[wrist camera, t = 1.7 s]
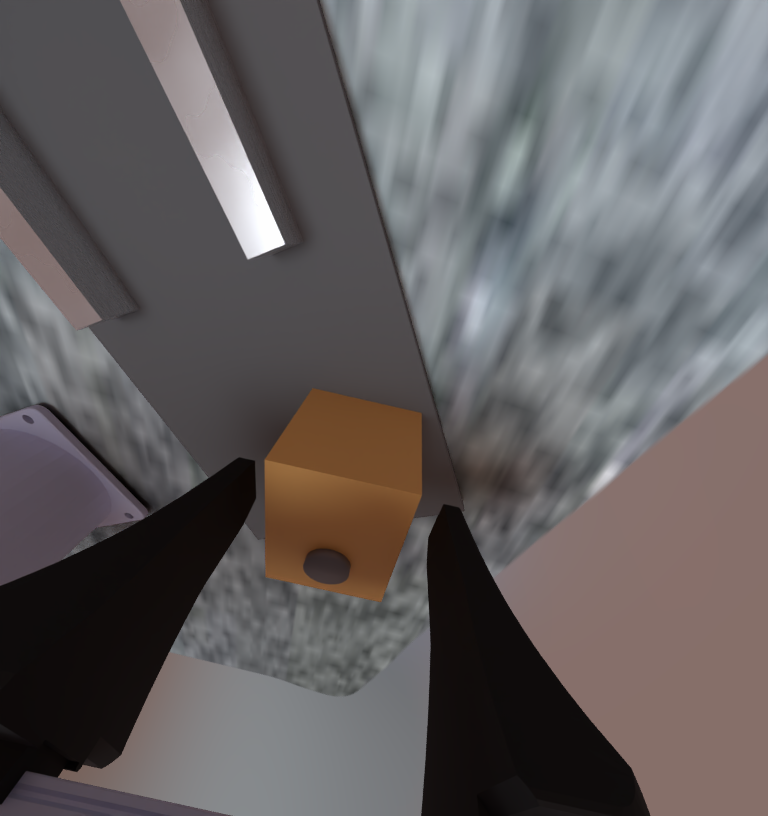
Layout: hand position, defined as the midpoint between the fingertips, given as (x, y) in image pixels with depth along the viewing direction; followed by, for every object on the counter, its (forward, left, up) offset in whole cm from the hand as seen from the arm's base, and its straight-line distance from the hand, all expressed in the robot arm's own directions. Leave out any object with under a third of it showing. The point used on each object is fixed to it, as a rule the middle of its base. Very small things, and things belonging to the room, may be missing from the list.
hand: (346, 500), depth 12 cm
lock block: (0, 0, -3) cm, 3 cm away
